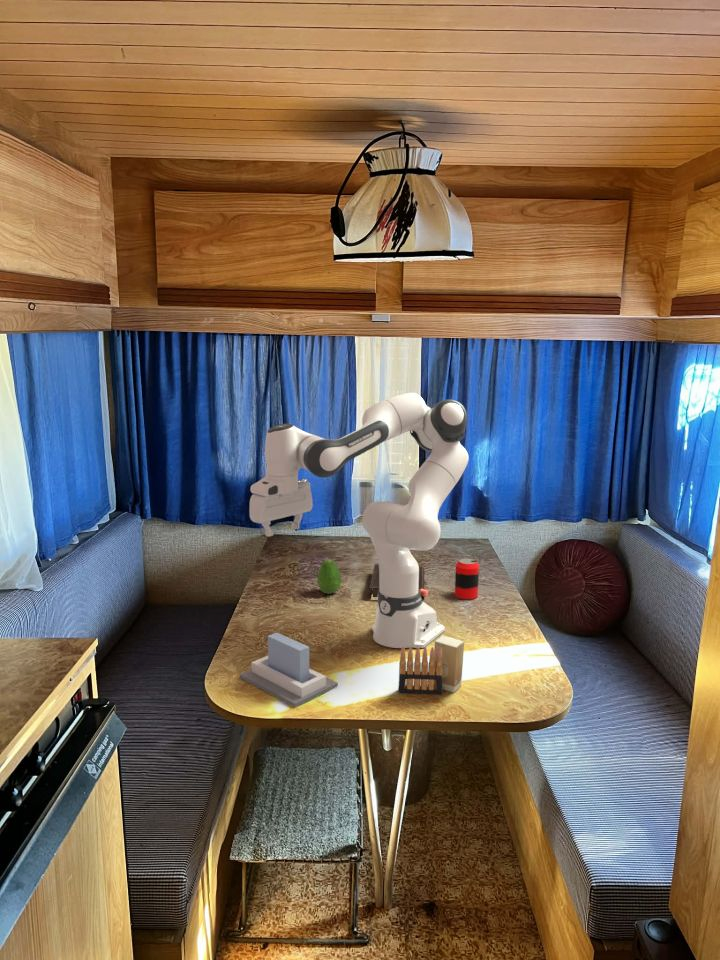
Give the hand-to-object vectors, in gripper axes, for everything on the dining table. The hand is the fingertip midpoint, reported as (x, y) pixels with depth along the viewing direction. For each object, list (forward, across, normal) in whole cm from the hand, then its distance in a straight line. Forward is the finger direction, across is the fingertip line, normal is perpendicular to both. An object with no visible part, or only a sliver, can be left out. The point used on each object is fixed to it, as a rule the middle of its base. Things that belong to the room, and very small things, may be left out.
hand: (282, 532), depth 201 cm
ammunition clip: (+31, -2, +48) cm, 57 cm away
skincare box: (+31, -9, +51) cm, 61 cm away
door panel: (+30, +17, +21) cm, 40 cm away
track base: (+31, +17, +21) cm, 41 cm away
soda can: (+31, -63, +19) cm, 73 cm away
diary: (+32, -53, -2) cm, 62 cm away
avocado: (+31, -33, -15) cm, 48 cm away
